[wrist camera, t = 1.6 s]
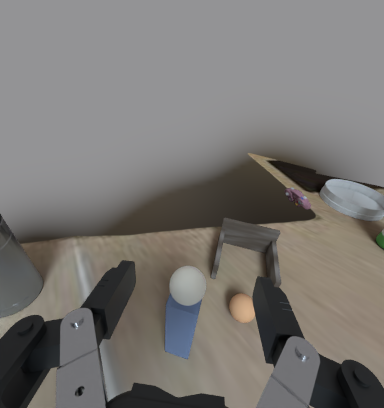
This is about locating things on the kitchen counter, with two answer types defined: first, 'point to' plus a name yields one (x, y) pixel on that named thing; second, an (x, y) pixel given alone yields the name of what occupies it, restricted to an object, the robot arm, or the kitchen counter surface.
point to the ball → (242, 308)
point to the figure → (183, 309)
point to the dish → (353, 199)
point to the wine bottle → (380, 239)
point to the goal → (250, 244)
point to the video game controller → (297, 198)
